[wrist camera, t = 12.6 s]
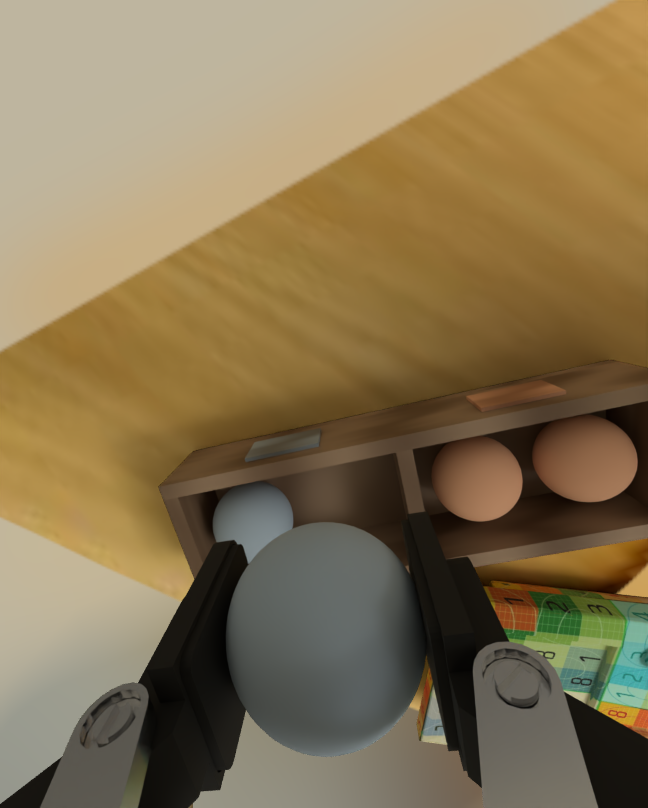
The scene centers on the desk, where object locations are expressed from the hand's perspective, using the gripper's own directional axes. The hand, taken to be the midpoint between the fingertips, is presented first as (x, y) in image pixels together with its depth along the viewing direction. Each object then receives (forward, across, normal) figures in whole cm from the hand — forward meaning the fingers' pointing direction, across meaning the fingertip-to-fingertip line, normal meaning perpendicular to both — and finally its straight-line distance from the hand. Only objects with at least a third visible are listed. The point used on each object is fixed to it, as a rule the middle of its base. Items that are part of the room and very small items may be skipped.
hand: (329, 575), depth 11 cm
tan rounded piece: (+13, -13, +3) cm, 18 cm away
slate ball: (+1, 0, 0) cm, 1 cm away
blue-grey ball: (+13, +6, +4) cm, 14 cm away
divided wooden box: (+13, -3, +4) cm, 14 cm away
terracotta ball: (+13, -7, +3) cm, 15 cm away
